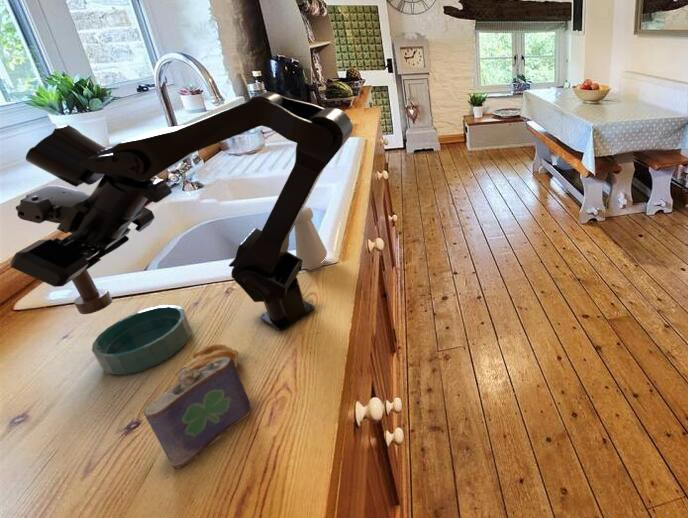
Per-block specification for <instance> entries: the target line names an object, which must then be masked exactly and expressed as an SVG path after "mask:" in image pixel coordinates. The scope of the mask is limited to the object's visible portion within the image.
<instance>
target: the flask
mask: <svg viewBox="0 0 688 518" xmlns="http://www.w3.org/2000/svg"><path fill="white" fill-rule="evenodd" d="M186 367H187V365H184V366H181V367H180V368H178V370H177V372H174V376H176V375H177V377H178V379H179V380H178V381H177V383H176V384H175V385H173V386H172V387H170V388H169V389H168V390H167V391H165V392H164V393H162V394H161V395H160V396H158V397H157V398H155V400H153V402H151V403H150V404H149V405H147V407H146V408H145V410H144V412H143V415H144V417H145V419H146V422H147V423H148V424H149V426H150V428H151V429H152V431H153V433H154V435H155V436H156V437H155V438H156V439H157V441H158V442H159V444H160V446H161V448H162V450H163V452H164V454H165V455H166V458H167V459H168V461H169V464H170V465H171V466H172V467H174V468H176V469H180V468H182V467H184V466H186V465H188V464H189V463H192V461H194V460H196V459H197V458H198V457H199V455H200V454H201V453H203V452H204V451H205V450H206V449H208V447H210V446H212V445H213V444H215V443H216V442H217V441H218V440H220V439H221V437H222V435H224V433H226V432H227V431H230V430H231V428H232V427H233V426H234V425H236V424H238V423H240V421H241V420H243V419H244V418H246V417H247V416H249V414H250V412H251V410H252V408H253V407H251V402H250V399H249V396H248V395H247V392H246V389H245V386H244V384H243V382H242V379H241V377H240V374H239V372H238V368H237V367H236V366H235V363H234V360H233V359H231V358H229V357H220V358H218V359H217V360H215V361H212V362H210V363H208V364H207V365H206V366H204V367H202V368H200V369H199V370H191V371H189V370H188V369H189V368H187V369H185V368H186ZM184 369H185V370H184ZM178 372H179V373H178Z"/></svg>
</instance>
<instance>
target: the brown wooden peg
mask: <svg viewBox="0 0 688 518" xmlns="http://www.w3.org/2000/svg"><path fill="white" fill-rule="evenodd" d="M71 282H72V283H73V285H74V287H75V288H76V290H77V292H78V294H79V296H78V297H76V298H75V299H74V301H73V304H74V305H75V307H76V309H77V311H78V312H79V314H80V315H90V314H93V313H97V312H99V311H102V310H104V309H106V308H107V307H108V306H110V305H111V304H112V303H113V298H112V296H111V294H110V292H109V290H108V289H107V288H97V286H96V283H95V282H94V281H93V279H92V275H90V273H89V271H88V269H87V270H85V271H82V272H81V273H80V274H79V275H78V276H77V277H75V278H74V279H73V280H71Z"/></svg>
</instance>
